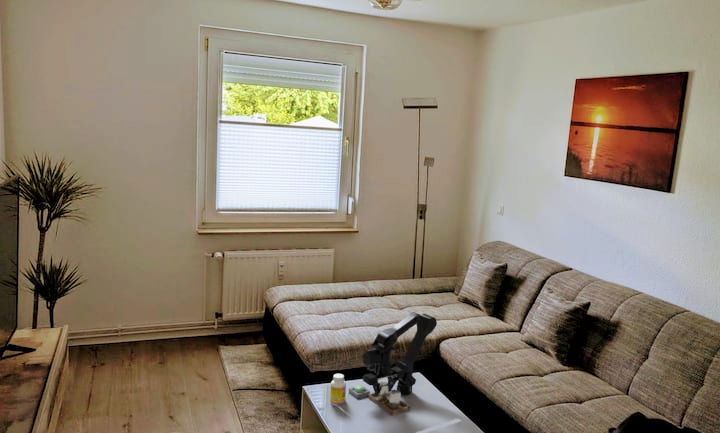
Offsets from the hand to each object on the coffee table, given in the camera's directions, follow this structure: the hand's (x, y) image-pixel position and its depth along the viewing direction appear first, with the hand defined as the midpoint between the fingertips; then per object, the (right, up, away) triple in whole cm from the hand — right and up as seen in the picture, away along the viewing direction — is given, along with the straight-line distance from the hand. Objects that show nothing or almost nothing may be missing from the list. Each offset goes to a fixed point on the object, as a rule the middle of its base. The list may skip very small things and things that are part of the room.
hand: (382, 393), depth 251 cm
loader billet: (+5, -4, -7) cm, 9 cm away
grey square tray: (-11, -3, +5) cm, 12 cm away
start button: (-10, -2, +5) cm, 12 cm away
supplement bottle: (-20, -4, -2) cm, 20 cm away
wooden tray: (+2, -4, -3) cm, 6 cm away
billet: (0, -3, 0) cm, 3 cm away
